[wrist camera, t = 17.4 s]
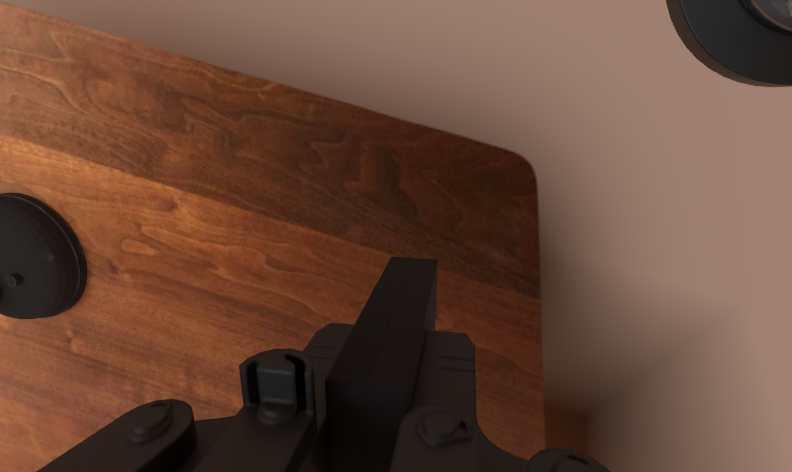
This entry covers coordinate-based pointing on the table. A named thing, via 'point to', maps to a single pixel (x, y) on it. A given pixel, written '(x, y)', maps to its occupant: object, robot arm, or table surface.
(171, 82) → the table surface
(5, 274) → the desk lamp
